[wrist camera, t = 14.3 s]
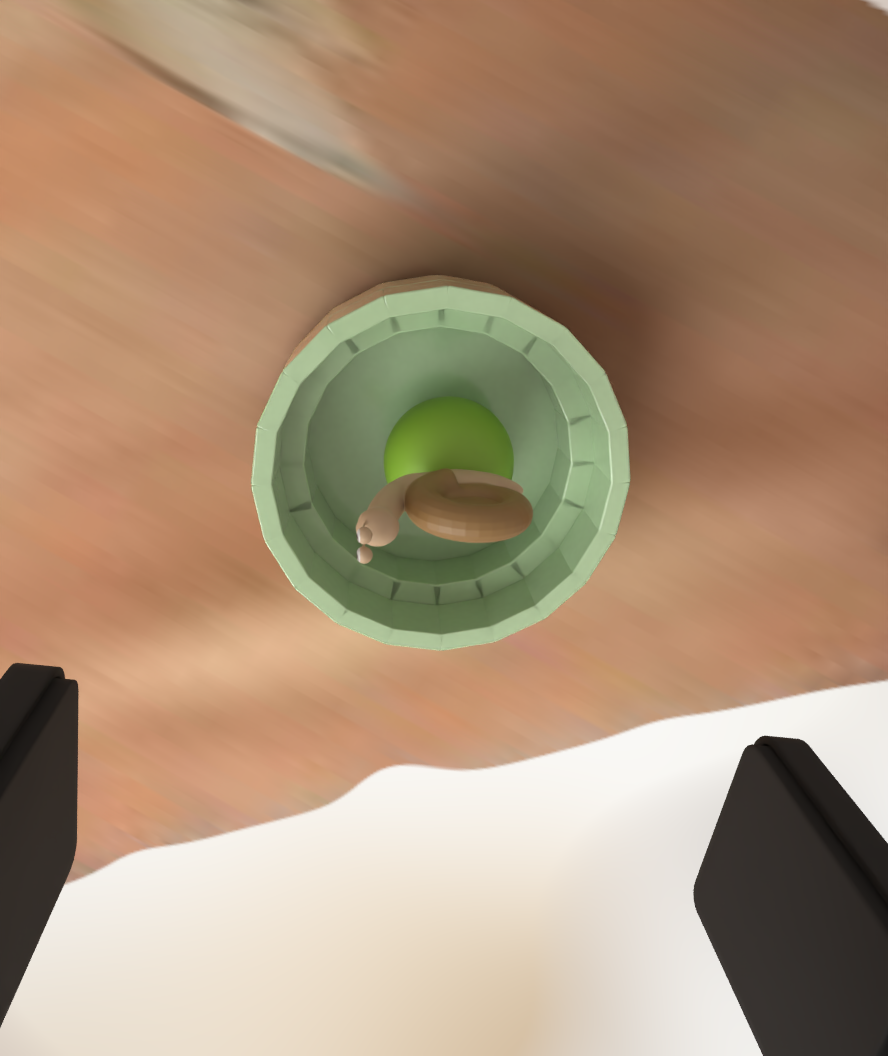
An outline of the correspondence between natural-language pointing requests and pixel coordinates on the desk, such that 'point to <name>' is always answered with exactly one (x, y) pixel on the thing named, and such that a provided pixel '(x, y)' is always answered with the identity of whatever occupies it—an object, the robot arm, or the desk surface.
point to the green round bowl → (359, 444)
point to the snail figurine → (447, 478)
